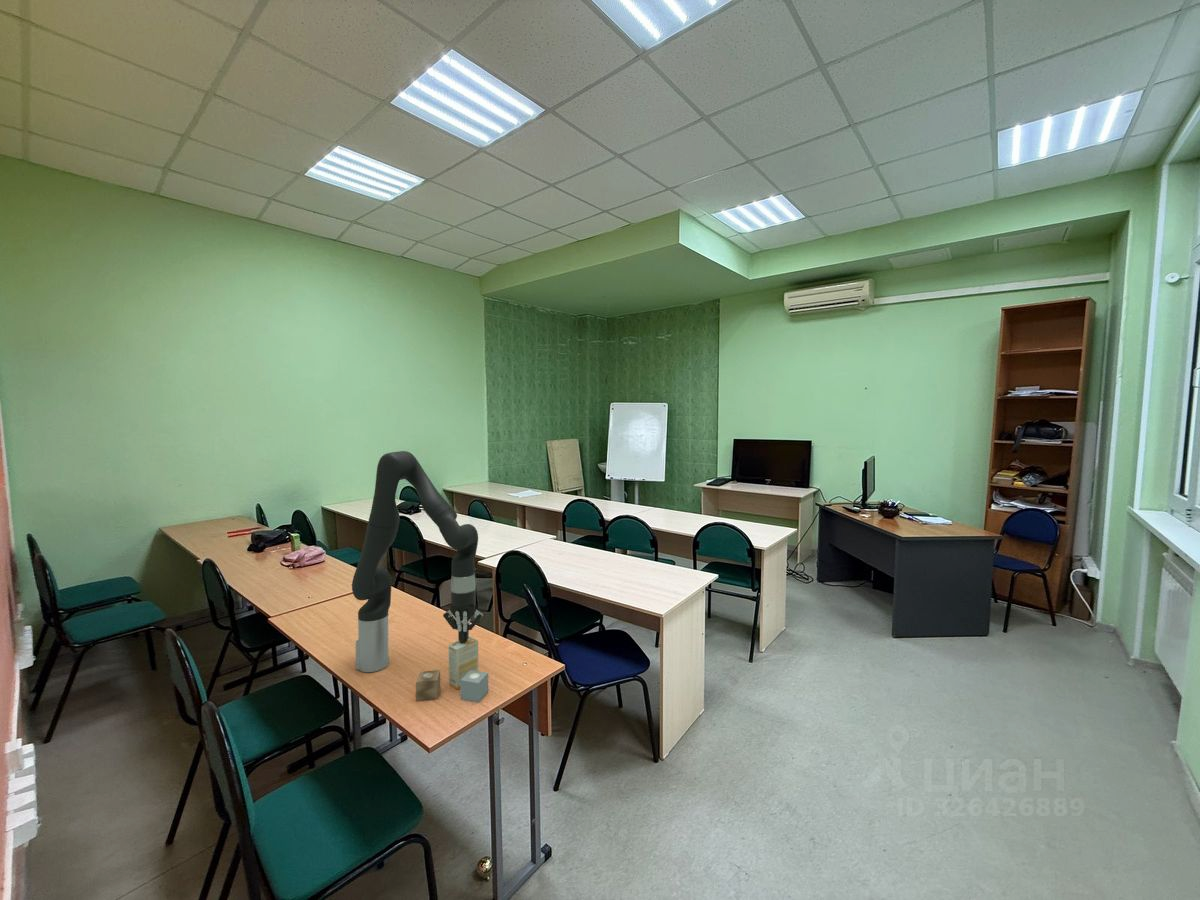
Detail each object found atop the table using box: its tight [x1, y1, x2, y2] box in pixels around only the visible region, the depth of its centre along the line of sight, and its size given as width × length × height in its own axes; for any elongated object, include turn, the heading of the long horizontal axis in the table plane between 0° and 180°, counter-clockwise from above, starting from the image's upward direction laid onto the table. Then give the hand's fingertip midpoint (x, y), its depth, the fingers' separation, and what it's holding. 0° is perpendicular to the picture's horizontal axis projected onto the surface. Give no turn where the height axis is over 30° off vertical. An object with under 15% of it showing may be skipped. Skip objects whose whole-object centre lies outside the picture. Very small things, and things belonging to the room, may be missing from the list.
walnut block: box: [415, 669, 441, 702], centre depth 142 cm, size 6×6×6 cm
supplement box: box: [448, 635, 479, 690], centre depth 149 cm, size 8×5×13 cm, turn 141°
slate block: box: [459, 670, 489, 703], centre depth 142 cm, size 6×6×6 cm
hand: (463, 641), depth 149 cm, fingers closed
